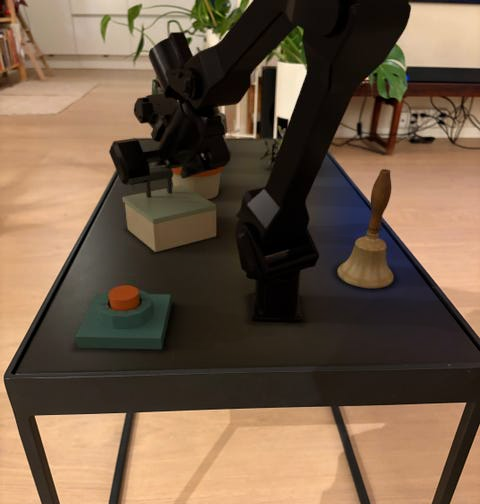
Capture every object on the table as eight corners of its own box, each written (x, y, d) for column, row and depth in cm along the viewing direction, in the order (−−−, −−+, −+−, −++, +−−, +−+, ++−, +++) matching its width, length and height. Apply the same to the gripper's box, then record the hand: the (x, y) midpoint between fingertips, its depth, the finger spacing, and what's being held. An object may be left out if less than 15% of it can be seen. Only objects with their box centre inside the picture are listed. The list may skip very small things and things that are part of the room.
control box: (161, 349, 61) (160, 325, 59) (77, 348, 61) (73, 323, 59) (171, 305, 70) (170, 282, 68) (97, 303, 70) (94, 280, 68)
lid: (122, 201, 88) (119, 172, 85) (182, 189, 93) (181, 161, 91) (153, 224, 80) (150, 193, 77) (216, 209, 86) (216, 179, 83)
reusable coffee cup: (238, 196, 104) (240, 119, 96) (182, 208, 99) (179, 126, 90) (208, 179, 113) (207, 106, 105) (155, 188, 107) (150, 112, 99)
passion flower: (298, 195, 121) (309, 163, 110) (253, 184, 121) (260, 150, 110) (306, 157, 125) (318, 122, 114) (262, 146, 125) (270, 110, 114)
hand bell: (384, 262, 81) (404, 161, 72) (400, 289, 74) (424, 180, 66) (332, 262, 81) (346, 160, 72) (343, 289, 74) (359, 180, 65)
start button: (137, 312, 62) (135, 300, 61) (107, 312, 62) (105, 299, 61) (142, 297, 65) (141, 285, 64) (113, 296, 65) (112, 284, 64)
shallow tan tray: (127, 229, 90) (124, 203, 87) (185, 216, 96) (184, 190, 93) (155, 252, 83) (153, 224, 80) (216, 236, 88) (216, 209, 86)
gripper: (221, 72, 79) (188, 131, 92) (106, 82, 70) (87, 145, 83) (249, 137, 78) (211, 187, 92) (136, 156, 69) (112, 207, 83)
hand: (158, 180), depth 87 cm, fingers open, 9 cm apart
